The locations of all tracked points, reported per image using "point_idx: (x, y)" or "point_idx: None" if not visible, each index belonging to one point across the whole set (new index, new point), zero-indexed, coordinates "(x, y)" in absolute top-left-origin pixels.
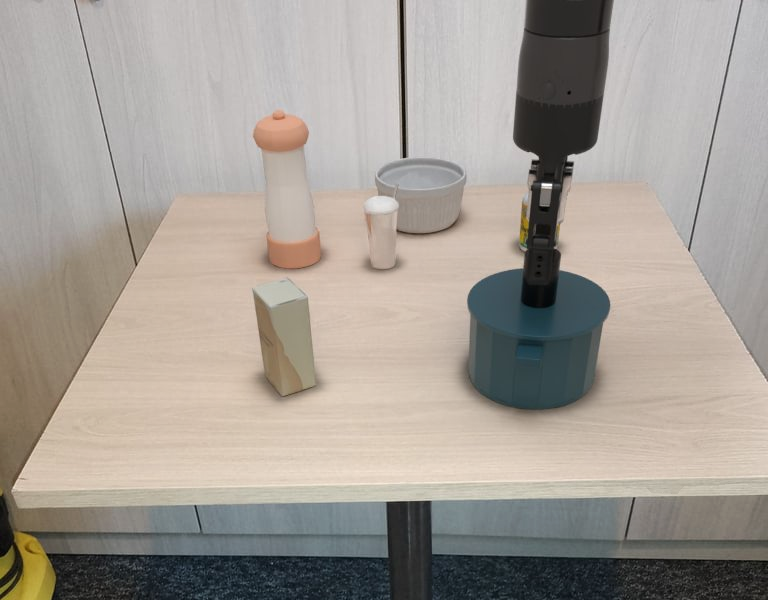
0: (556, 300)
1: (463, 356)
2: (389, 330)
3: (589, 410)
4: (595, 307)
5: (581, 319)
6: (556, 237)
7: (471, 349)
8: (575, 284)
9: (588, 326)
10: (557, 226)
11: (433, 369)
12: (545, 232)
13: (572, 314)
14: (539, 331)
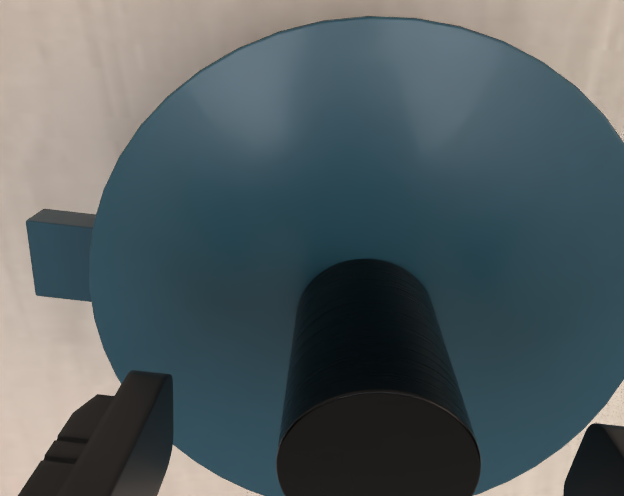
0: (368, 255)
1: None
2: (194, 484)
3: (535, 52)
4: (436, 95)
5: (538, 165)
6: (153, 401)
7: None
8: (217, 171)
9: (608, 140)
10: (129, 457)
11: None
12: (147, 474)
13: (490, 199)
14: (611, 324)
